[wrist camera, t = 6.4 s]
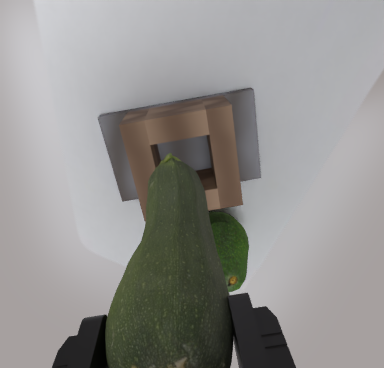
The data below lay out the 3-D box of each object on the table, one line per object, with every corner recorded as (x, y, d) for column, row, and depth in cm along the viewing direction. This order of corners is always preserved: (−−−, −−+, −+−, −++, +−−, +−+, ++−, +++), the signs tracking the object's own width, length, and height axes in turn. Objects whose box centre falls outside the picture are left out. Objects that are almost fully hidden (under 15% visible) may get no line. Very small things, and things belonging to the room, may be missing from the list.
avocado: (231, 251, 46) (248, 315, 35) (179, 242, 45) (180, 306, 34) (247, 204, 43) (271, 259, 32) (192, 193, 42) (197, 246, 31)
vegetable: (213, 179, 23) (356, 653, 5) (169, 213, 24) (163, 712, 6) (173, 135, 22) (183, 592, 4) (129, 173, 23) (-39, 684, 5)
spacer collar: (250, 87, 37) (267, 98, 30) (258, 173, 41) (274, 199, 34) (100, 114, 37) (83, 131, 30) (124, 196, 42) (114, 226, 35)
